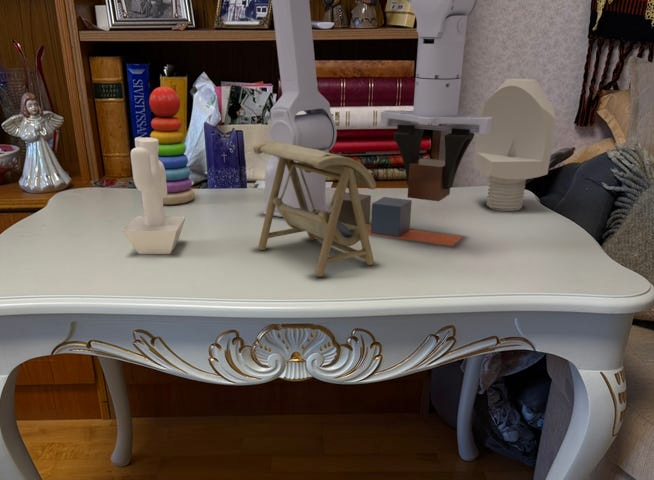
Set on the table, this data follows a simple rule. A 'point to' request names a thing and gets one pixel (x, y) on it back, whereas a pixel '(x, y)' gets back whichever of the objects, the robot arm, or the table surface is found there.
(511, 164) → the beige tall piece
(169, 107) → the stacking toy
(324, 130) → the robot arm
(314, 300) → the table surface
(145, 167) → the figurine
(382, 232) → the slate block
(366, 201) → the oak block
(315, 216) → the swing bench
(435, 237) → the line strip
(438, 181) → the walnut block
